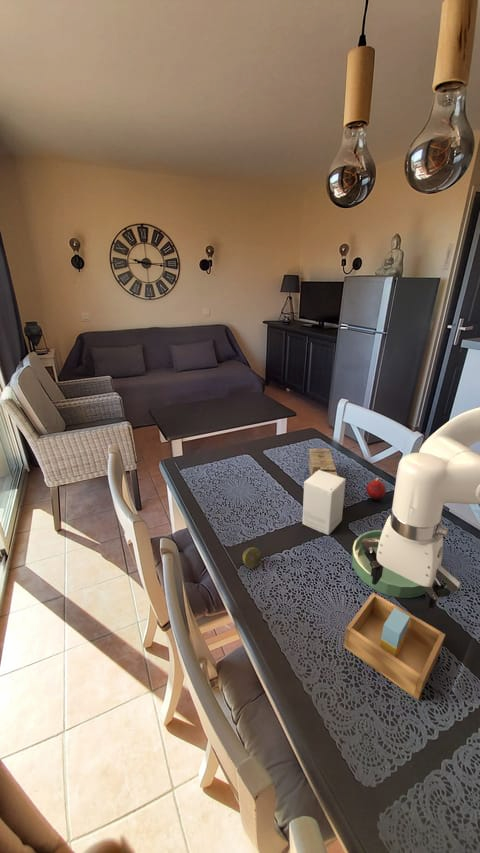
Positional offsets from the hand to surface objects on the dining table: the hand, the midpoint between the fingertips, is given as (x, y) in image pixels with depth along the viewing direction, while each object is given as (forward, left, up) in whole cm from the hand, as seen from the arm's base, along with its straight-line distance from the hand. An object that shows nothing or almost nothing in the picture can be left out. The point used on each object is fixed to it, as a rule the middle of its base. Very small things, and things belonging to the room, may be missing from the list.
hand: (401, 593), depth 69 cm
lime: (+35, +5, -13) cm, 38 cm away
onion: (+24, -43, -13) cm, 51 cm away
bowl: (+8, -18, -13) cm, 24 cm away
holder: (-1, +3, -13) cm, 13 cm away
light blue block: (-1, +3, -8) cm, 9 cm away
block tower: (+40, -38, -13) cm, 57 cm away
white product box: (+31, -22, -13) cm, 40 cm away
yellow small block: (-1, +3, -12) cm, 13 cm away
